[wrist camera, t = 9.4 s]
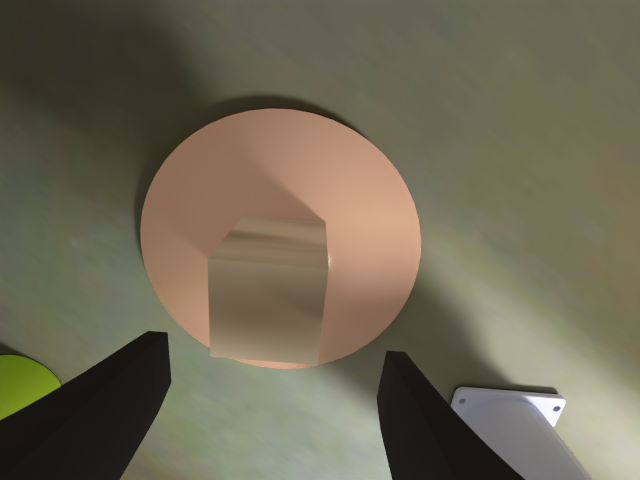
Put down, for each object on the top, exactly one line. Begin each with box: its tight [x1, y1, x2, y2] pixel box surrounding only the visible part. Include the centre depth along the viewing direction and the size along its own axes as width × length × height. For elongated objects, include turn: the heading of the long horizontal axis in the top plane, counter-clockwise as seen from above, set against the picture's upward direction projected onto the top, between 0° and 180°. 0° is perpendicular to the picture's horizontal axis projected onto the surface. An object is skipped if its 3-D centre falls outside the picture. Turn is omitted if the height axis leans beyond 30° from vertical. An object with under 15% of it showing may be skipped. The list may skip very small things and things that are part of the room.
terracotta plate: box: [140, 109, 421, 369], centre depth 19 cm, size 16×16×1 cm
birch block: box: [207, 215, 329, 365], centre depth 15 cm, size 4×4×6 cm
